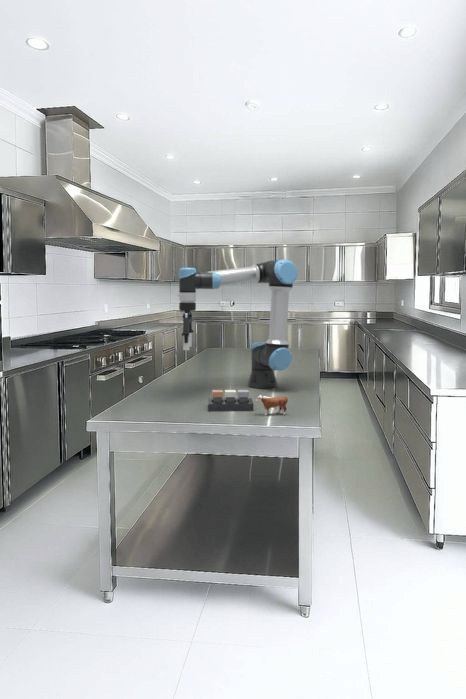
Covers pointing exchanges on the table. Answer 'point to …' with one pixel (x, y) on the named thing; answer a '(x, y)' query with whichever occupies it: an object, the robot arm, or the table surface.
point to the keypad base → (230, 405)
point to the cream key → (230, 395)
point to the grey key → (243, 395)
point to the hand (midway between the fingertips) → (187, 348)
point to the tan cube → (217, 395)
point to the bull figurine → (272, 403)
